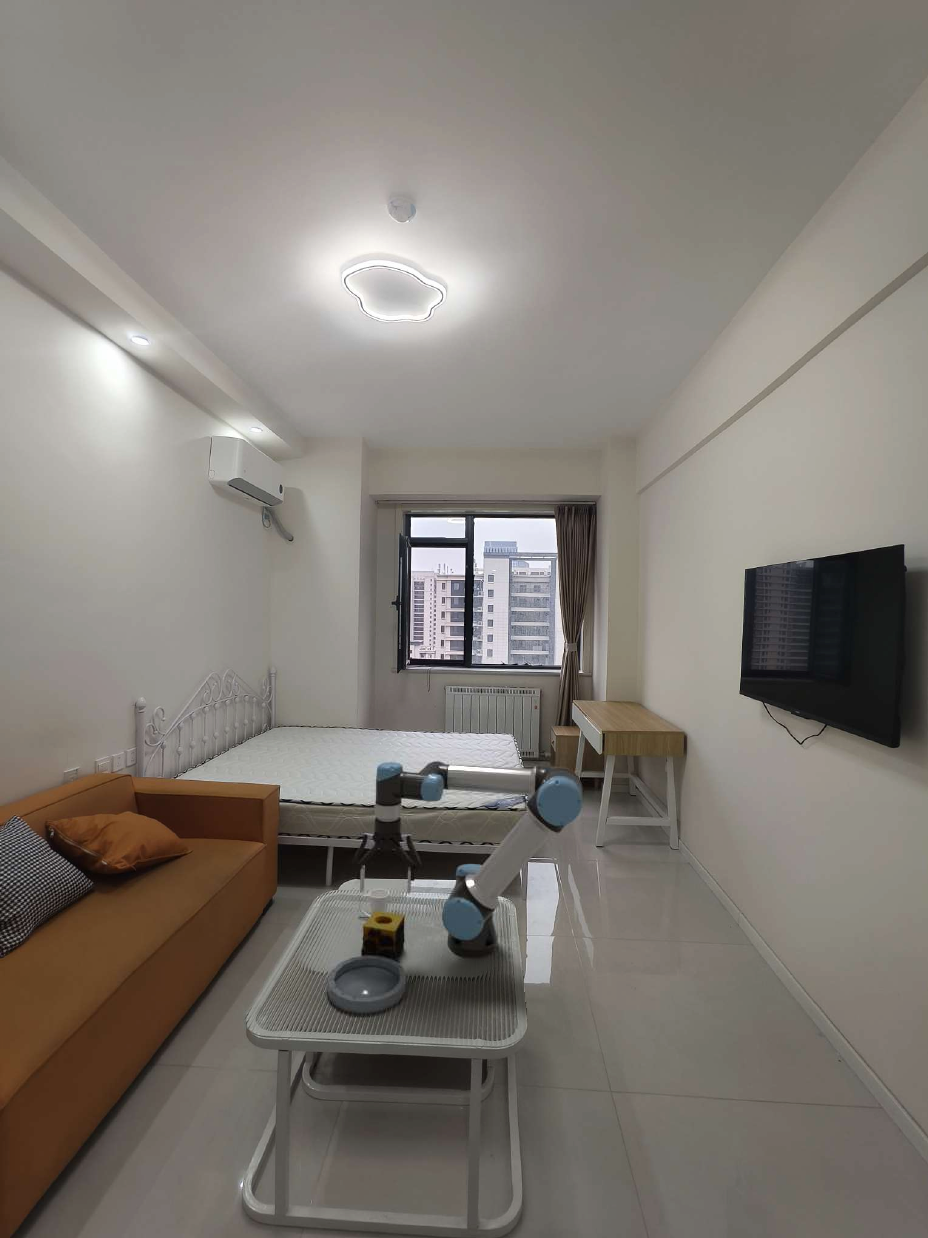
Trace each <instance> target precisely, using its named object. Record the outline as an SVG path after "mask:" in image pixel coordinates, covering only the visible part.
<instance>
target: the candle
mask: <svg viewBox="0 0 928 1238" xmlns="http://www.w3.org/2000/svg"><path fill="white" fill-rule="evenodd" d="M370 916H371V917H370V918H369V917H368V919H367V920H366V922H365V923H364V924H363V925H362V932H363V933H362V945H361V946H362V947H361V950H360V953H361V954H360V956H365V955H372V956H383V957H386V958H389V959H393V960H394V961H396V962H397V963H398V961H399V959H400V957H401V954H402V953H403V951H404V949H405V946H404V945H405V942H406V941H405V918H406V914H400V913H393V912H387V911H386V912H381V911H374V912H373V913H372V914H371V915H370Z"/></svg>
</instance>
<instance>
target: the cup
mask: <svg viewBox="0 0 928 1238" xmlns="http://www.w3.org/2000/svg"><path fill="white" fill-rule="evenodd" d="M390 895H391V894H390V891H389V889H384V888H374V889H372V890H370V891H369V892H368V894H363V895H362V896H361V897H360V899H359V903H358V909H359V911H361V913H362V914H363V915H365V917H368V919H369V918H370V917H371V915H372V913H373V912H374V911H381V912H387V911H388V908H389V907H388V905H389V901H390ZM363 898H368V899H369V907H370V908H369V909H370V913H371V915H370V914H368V913H367V912H366V911H365V910H363V909H362V906H361V901H362V899H363Z"/></svg>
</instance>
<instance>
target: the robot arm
mask: <svg viewBox="0 0 928 1238" xmlns="http://www.w3.org/2000/svg"><path fill="white" fill-rule="evenodd" d="M403 767H404V766H403V764H402V763H400V762H394V761H391V762H390V761H389V762H382V763H380V764H378V766H377V768H376V777H375V803H374V805H375V807H374V816H375V818H374V831H373V833H369V832H368V831H365V832H364V834H363V836H362V841H361V843H360V845H359V847H358V849H357V851H356V852H355V855H354V857H353V859H352V861H351V863H350V866H351V867H354V868H356V880H360V883H359V893H364V889H365V874H366V873H365V871H366V866H365V864H366V863H367V862H368V861H369V860H370V858H371V857H373V855H374V854H375V853H376V852H377V851H378V850H380V851H382V852H383V851H389V852H392V851H393V850H394V851H395V853H396V854H398V855H399V857H400V858H401V859H402V860H403V861H404V863H405V864H406V865H407V867H408V869H407V888H406V889H407V891H406V894H408V895H409V894H411V889H412V887H411V886H412V882H414V881H415V878H416V870H417V869H421V867H422V860H421V858H420V855H419V853H418V851H417V850H416V849H417V848H416V847H415V845H414V843H413V841H412V840H413V839H412V834H411V832H410V833H409V832H408V833H407V834H402V833H401V828H402V827H401V826H402V818H401V816H402V801H403V800H414V801H422V802H423V801H424V802H427V803H428V802H439V801H441V799H442V797H443V795H444V794H443V793H444V790H447V791H461V792H463V791H464V792H474V793H475V792H476V793H477V792H478V793H491V794H492V793H494V794H503V795H504V794H507V795H521V796H531V797H530V798H529V800H527V802H526V805H525V806H526V812H525V813H524V815H523V816H522V817H521V818H520V820H518V822H517V823H516V824H515V825H514V827H513V828H512V829H511V830H510V832H509V833H508V834H507V835H506V836H505V838H504V839H503V840H502V841H501V842H500V844H498V846H497V847H496V849H495V850H494V851H493V852H492V853H491V854H490V856H489V857H488V858H487V859H486V860H485V862H484V863H483V864H479V863H478V864H475V863H467V864H466V863H465V864H461V865H459V866H458V867H457V868H456V872H455V884H454V887H453V889H452V891H451V892H450V894H449V896H448V898H447V900H446V901H445V903H444V905H443V906H442V911H441V920H442V924H443V927H444V929H445V930H446V931H447V932H448V933H447V942H446V943H447V946H448V948H449V950H451V951H452V952H453V953H454V954H455V953H456V954H457V955H459V956H463V957H466V958H467V957H468V958H482V956H483V957H487V956H489V955H491V954H493V953H494V952H495V951H496V950H497V948H498V934H497V931H496V927H495V923H494V919H493V917H494V912H495V910H496V909H497V908H498V907H499V906H500V905H499V901H500V900H499V896H500V895H501V894H502V893H503V892H504V891H505V889H507V887H508V886H509V885H510V884H511V882H512V881H513V880H514V878H516V876H517V875H518V874H519V873H520V871H522V869H523V868H524V866H525V865H527V863H528V862H529V861H530V859H531V858H532V857H533V856H534V855H535V854H536V852H538V850H539V849H540V847H542V845H543V844H544V843H545V841H547V840H548V838H549V837H550V835H553V834H554V835H556V834H557V835H558V834H560V833H561V832H562V831H563V829H565V827H566V826H567V825H569V824H571V823H572V822H574V821H575V820H576V819H577V818H578V816H579V815H580V813H581V810H582V808H583V804H584V803H583V802H584V799H583V784H582V782H581V781H582V780H581V779H580V777H579V776H578V774H577V773H576V772H574V770H571V769H570V768H567V767H564V766H547V765H546V766H544V765H535V766H534V767H533V768H530V769H529V768H520V767H519V768H516V767H515V768H514V767H498V766H497V767H495V766H484V765H483V766H480V765H479V766H478V765H464V764H446V763H445V762H443V761H441V760H433V761H431V762H429V763H427V764H426V765H425V766H424V767H423V768H422V769H421V770H420V771H419V772H409V771H405V770H404V769H403ZM402 799H403V800H402ZM371 840H372V841H373V842H374V844H373V846H372V847H371V848H370V849H369V851H367V853H365V855H363V857H362V858H361V859H360V860H359V858H360V857H361V854H362V853H363V851H364V849H365V847H366V845H367V843H369V842H371ZM401 841H403V842H404V843H406V846H407V849H408V850H409V853H410V855H411V857H412V858H411V857H410V856H409V854H408V853H407V852H406V851H405V849H404V848H403V846H402V845H401V844H400V843H401ZM496 947H497V948H496ZM495 949H496V950H495ZM494 950H495V951H494ZM493 951H494V952H493ZM492 952H493V953H492ZM490 953H491V954H490ZM488 954H489V955H488ZM486 955H487V956H486Z"/></svg>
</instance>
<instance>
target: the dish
mask: <svg viewBox="0 0 928 1238" xmlns="http://www.w3.org/2000/svg"><path fill="white" fill-rule="evenodd" d="M406 983H407V973H406V970H405V969H404V967H403V965H401V964H400V963H399V962H398V961H397V962H396V961H394V960H393V959H389V958H386V957H383V956H372V955H365V956H361V955H360V956H355V957H351V958H348V959H346V960H343V961H341V962H339V963H338V964H337V965H336V966H335V967H334V968H333V969H331V970H330V972H329V976H328V978H327V985H326V986H327V995H328V998H329V1001H330V1002H331V1003H332V1004H333V1005H334V1006H335V1007H336V1008H338V1009H339V1010H342V1011H345V1012H347V1013H351V1014H360V1015H363V1014H364V1015H367V1014H375V1013H379V1012H383V1011H385V1010H387V1009H390V1008H391V1007H393V1006H395V1005H396V1004H397V1003H399V1002H400V1001H401V999H402V998H403V996H404V994H405V992H406Z"/></svg>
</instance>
